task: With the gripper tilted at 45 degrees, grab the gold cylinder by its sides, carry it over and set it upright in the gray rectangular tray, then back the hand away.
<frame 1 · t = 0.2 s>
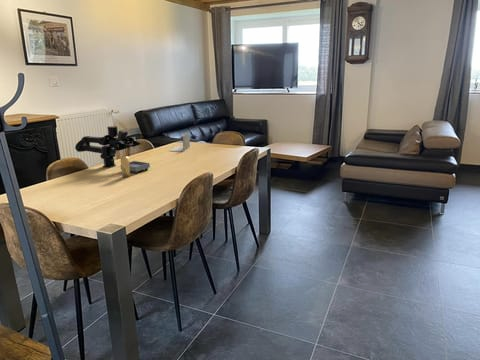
hand: (135, 144, 235), 17 cm above the table, tool horizontal, fingers open, 9 cm apart
gray rectangular tray: (135, 170, 238), on the table
laptop: (179, 149, 303), on the table
gold cylinder: (126, 176, 224), on the table
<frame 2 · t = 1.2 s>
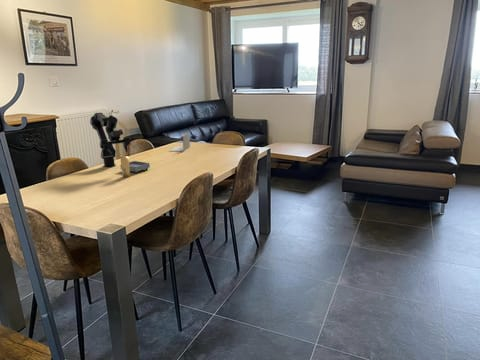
hand: (119, 153, 227), 14 cm above the table, tool tilted 45°, fingers open, 9 cm apart
nothing on the table moved.
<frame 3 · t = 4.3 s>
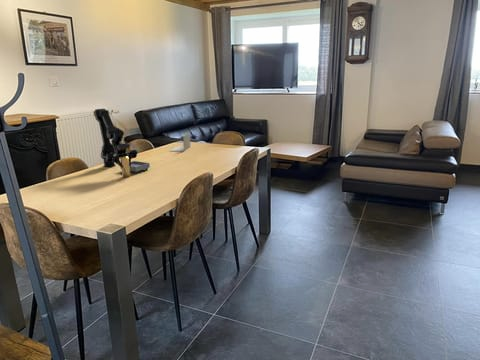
hand: (126, 166, 221), 7 cm above the table, tool tilted 45°, fingers closed on gold cylinder, 5 cm apart
gold cylinder: (126, 176, 224), on the table, touching gripper
everything else where it was.
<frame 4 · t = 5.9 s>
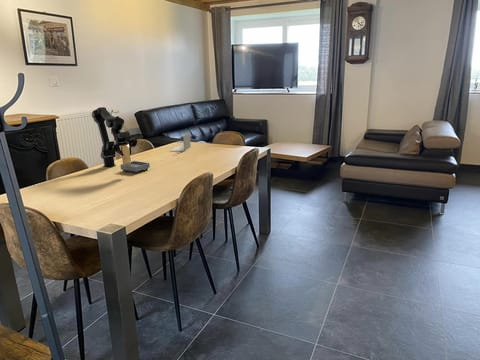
hand: (126, 155, 221), 13 cm above the table, tool tilted 45°, fingers closed on gold cylinder, 5 cm apart
gold cylinder: (127, 165, 224), point 7 cm above the table, touching gripper
everything else where it was.
when the fingers open (11 cm above the table, at t = 7.9 s): gold cylinder drops 1 cm, resting on gray rectangular tray.
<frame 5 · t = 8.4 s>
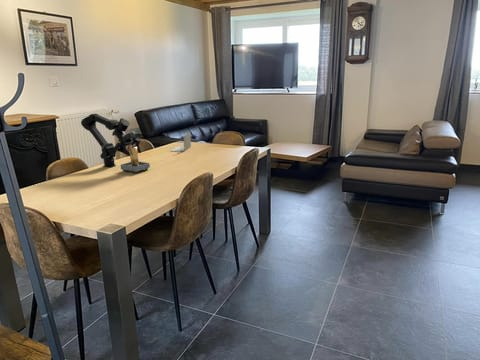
hand: (135, 154, 234), 11 cm above the table, tool tilted 45°, fingers open, 9 cm apart
gray rectangular tray: (135, 170, 238), on the table, touching gold cylinder
gold cylinder: (135, 166, 237), point 3 cm above the table, touching gray rectangular tray
everything else where it was.
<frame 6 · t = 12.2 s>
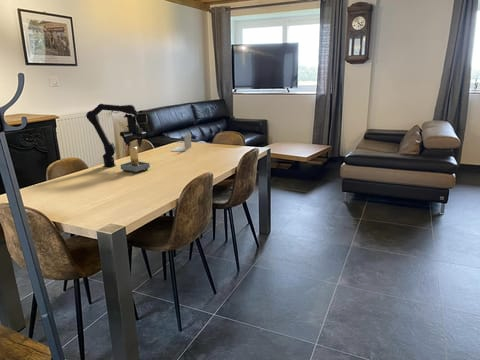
hand: (134, 146, 250), 13 cm above the table, tool pointing down, fingers open, 9 cm apart
at the end: gold cylinder inside the target area on the gray rectangular tray (0.0 cm from its centre), point 3.0 cm above the gray rectangular tray's base; gold cylinder tilted 1°; the gripper is holding nothing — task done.
